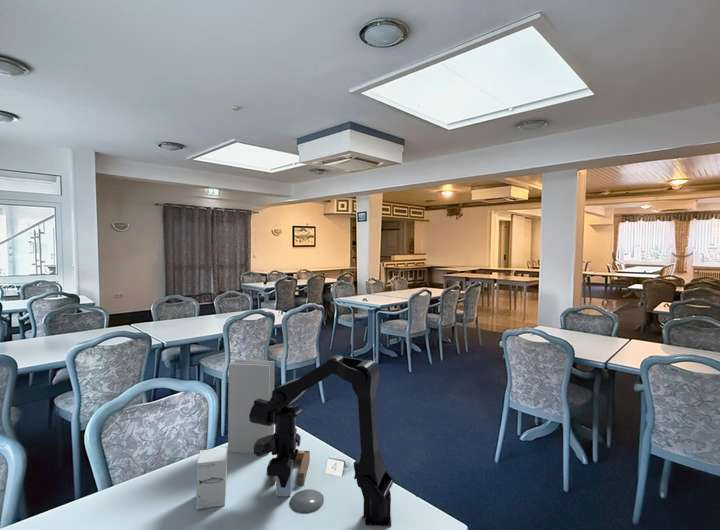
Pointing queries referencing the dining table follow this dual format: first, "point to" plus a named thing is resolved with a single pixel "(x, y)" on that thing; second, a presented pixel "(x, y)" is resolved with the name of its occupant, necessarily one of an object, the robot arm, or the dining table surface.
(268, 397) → the tall grey box
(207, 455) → the supplement box
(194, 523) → the dining table surface
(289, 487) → the block
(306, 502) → the coaster
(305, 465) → the frame
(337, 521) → the dining table surface
